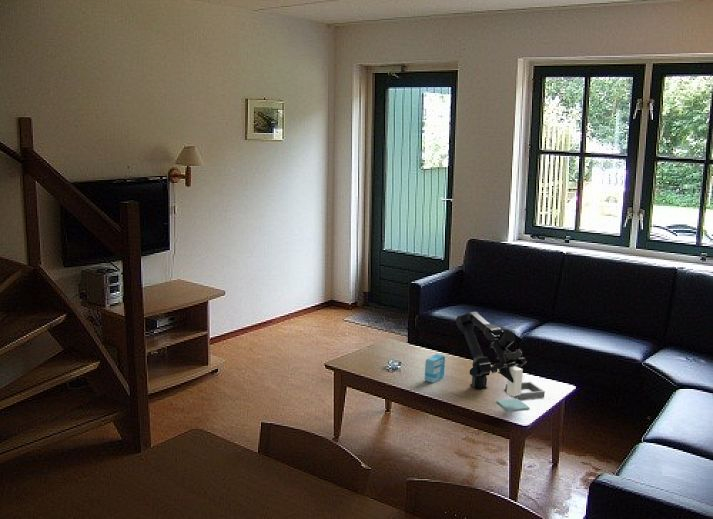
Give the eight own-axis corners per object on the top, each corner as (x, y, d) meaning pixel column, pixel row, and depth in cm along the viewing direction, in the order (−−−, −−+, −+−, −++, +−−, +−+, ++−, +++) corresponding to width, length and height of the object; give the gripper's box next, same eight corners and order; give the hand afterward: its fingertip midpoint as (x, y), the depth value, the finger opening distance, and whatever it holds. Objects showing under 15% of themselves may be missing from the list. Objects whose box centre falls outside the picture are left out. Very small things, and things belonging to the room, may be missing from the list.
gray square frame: (518, 398, 335) (519, 394, 334) (505, 388, 347) (505, 384, 347) (544, 396, 339) (544, 391, 339) (530, 386, 351) (530, 381, 351)
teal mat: (508, 411, 320) (508, 409, 320) (496, 402, 330) (496, 400, 330) (529, 409, 323) (529, 407, 323) (517, 400, 334) (517, 398, 333)
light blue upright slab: (431, 383, 350) (433, 361, 348) (424, 381, 353) (425, 359, 351) (444, 377, 360) (445, 355, 357) (436, 375, 362) (437, 353, 360)
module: (506, 393, 326) (508, 367, 324) (513, 391, 329) (515, 366, 326) (513, 396, 323) (515, 370, 320) (520, 394, 325) (522, 369, 322)
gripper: (496, 346, 319) (512, 377, 312) (526, 340, 329) (541, 370, 322) (483, 357, 327) (498, 387, 321) (512, 351, 337) (527, 380, 330)
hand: (516, 381), depth 323 cm, fingers closed on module, 4 cm apart
